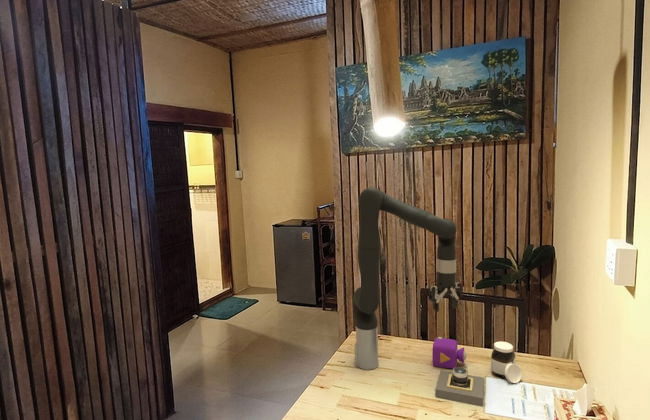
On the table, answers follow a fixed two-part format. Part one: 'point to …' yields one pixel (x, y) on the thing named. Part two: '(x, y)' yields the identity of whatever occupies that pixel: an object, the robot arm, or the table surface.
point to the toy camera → (447, 353)
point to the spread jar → (505, 362)
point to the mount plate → (460, 389)
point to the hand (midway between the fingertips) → (445, 309)
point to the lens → (460, 377)
